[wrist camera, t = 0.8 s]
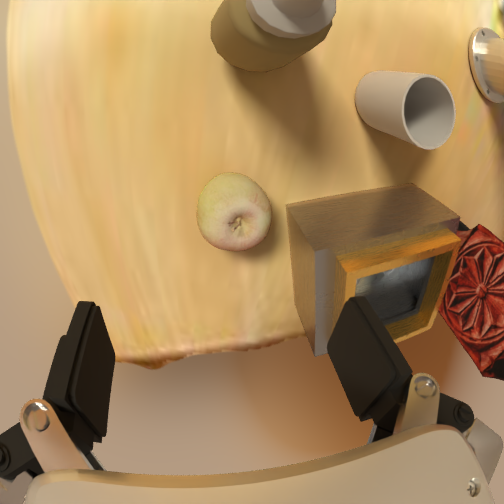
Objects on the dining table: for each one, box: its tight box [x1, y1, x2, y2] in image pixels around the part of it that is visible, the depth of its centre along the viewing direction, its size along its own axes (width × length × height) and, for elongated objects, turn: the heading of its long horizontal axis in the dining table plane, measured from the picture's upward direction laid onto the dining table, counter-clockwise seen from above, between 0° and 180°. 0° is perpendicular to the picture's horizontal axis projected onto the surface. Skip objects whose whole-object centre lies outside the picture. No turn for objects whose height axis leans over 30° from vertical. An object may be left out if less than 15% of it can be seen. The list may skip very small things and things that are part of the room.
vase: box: [438, 221, 504, 381], centre depth 28 cm, size 14×14×30 cm
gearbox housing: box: [286, 183, 461, 357], centre depth 32 cm, size 18×16×12 cm
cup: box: [355, 71, 456, 149], centre depth 23 cm, size 7×10×9 cm
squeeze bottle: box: [211, 0, 336, 72], centre depth 14 cm, size 8×8×18 cm
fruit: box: [197, 173, 272, 251], centre depth 28 cm, size 8×7×8 cm
